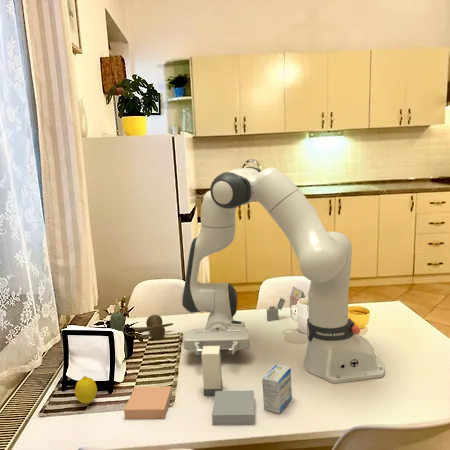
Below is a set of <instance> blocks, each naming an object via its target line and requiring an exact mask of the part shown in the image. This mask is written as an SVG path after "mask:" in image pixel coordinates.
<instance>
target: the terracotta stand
mask: <svg viewBox="0 0 450 450" xmlns="http://www.w3.org/2000/svg"><path fill="white" fill-rule="evenodd" d="M172 387H173V386H170V385H167V386H166V385H165V386H163V385H162V386H161V385H160V386H135V387H133V390H132V393H131V394H130V397H129V399H127V400H128V401H127V403H126V405H125V407H124V409H123V412H124V413H123V414H124V419H125V420H143V419H144V420H148V419H150V420H151V419H152V420H153V419H154V420H155V419H156V420H158V419H166V417H167V413H168V409H169V408H170V407H169V406H170V403H171V401H170V400H172V398H173V388H172ZM171 397H172V398H171Z"/></svg>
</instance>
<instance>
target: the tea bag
mask: <svg viewBox="0 0 450 450" xmlns="http://www.w3.org/2000/svg"><path fill="white" fill-rule="evenodd" d="M301 298H306V299H307V297H306V296H305V294H304V291H303V290H302V289H299V288H297V287H296V286H293V287H292V291H291V293H290V296H289V309H290V308H291V306H292V305H296V304H297V301H298V300H299V299H301ZM295 312H296V310H295Z"/></svg>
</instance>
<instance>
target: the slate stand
mask: <svg viewBox="0 0 450 450" xmlns="http://www.w3.org/2000/svg"><path fill="white" fill-rule="evenodd" d="M213 399H214V400H213V405H212V414H211V417H212V418H211V419H212V420H211V422H212V425H214V426H215V425H217V426H218V425H227V426H228V425H229V426H230V425H255V424H256V421H255V419H256V418H255V417H256V416H255V389H253V390H250V389H249V390H222V391H215V396H214V398H213Z"/></svg>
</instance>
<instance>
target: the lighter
mask: <svg viewBox="0 0 450 450" xmlns="http://www.w3.org/2000/svg"><path fill="white" fill-rule="evenodd" d="M285 303H286V299H285V298H283V297H280V298H279V300H278V303H277V305H276V307H275V305H271V306H269V307H268V308H266V320H267V322H273V321H279V319H280V318H279V310H280V311H282V309H283V306H284V304H285Z"/></svg>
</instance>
